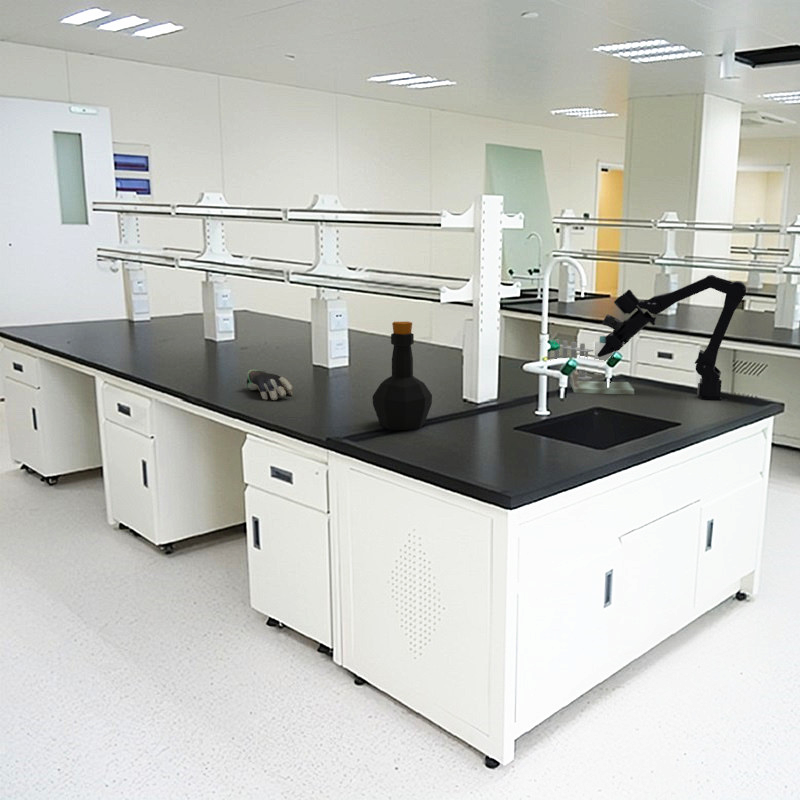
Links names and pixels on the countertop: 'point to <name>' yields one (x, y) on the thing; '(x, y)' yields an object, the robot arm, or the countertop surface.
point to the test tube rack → (572, 354)
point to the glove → (268, 384)
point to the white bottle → (598, 347)
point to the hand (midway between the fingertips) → (599, 354)
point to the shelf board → (599, 386)
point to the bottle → (402, 387)
